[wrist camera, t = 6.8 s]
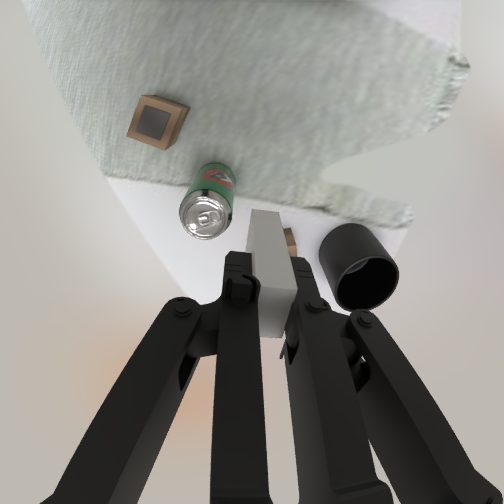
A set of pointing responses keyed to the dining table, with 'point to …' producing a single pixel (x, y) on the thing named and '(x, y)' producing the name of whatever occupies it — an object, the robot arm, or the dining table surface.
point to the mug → (358, 268)
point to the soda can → (208, 202)
